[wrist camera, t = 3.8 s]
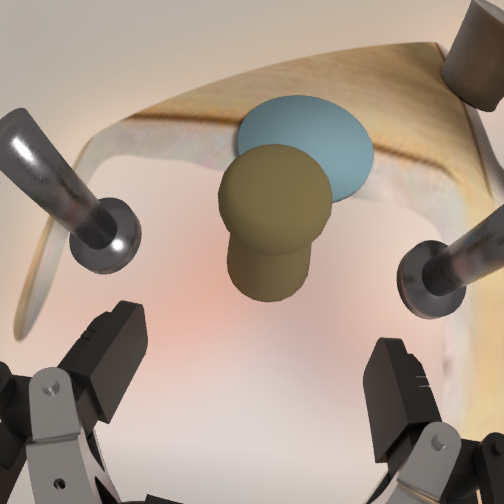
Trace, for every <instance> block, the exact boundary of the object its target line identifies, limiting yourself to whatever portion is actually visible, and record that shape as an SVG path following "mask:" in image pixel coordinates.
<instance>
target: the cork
mask: <svg viewBox="0 0 504 504" xmlns="http://www.w3.org/2000/svg"><path fill="white" fill-rule="evenodd" d="M332 200H333V197H332V190H331V186H330V182H329V178H328V177H327V175H326V173H325V172H324V170H323V169H322V167H321V166H320V165H319V163H318V162H317V161H316V160H314V159H313V158H312V157H311V156H310V155H308V154H307V153H306V152H304V151H302V150H299V149H297V148H295V147H293V146H288V145H282V144H267V145H261V146H258V147H255V148H252V149H249V150H247V151H246V152H245V153H243V154H242V155H240V156H239V157H238V158H236V159H235V160H234V161H233V162H232V163H231V164H230V166H229V167H228V168H227V170H226V171H225V172H224V175H223V178H222V181H221V184H220V188H219V191H218V201H219V211H220V215H221V217H222V219H223V222H224V224H225V226H226V228H227V230H228V231H229V232H230V239H229V247H228V254H227V267H228V273H229V276H230V278H231V280H232V282H233V284H234V285H235V286H236V287H237V288H238V290H239V291H240V292H241V293H243V294H244V295H246V296H248V297H250V298H251V299H253V300H257V301H262V302H275V301H281V300H283V299H285V298H287V297H290V296H292V295H293V294H294V293H295V292H296V291H297V290H299V288H301V287H302V285H303V283H304V281H305V279H306V277H307V276H308V270H309V264H310V254H311V244H312V242H313V241H314V240H315V239H316V238H317V237H318V236H319V235H320V234H321V233H322V231H323V229H324V227H325V225H326V223H327V221H328V219H329V217H330V215H331V208H332Z"/></svg>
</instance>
